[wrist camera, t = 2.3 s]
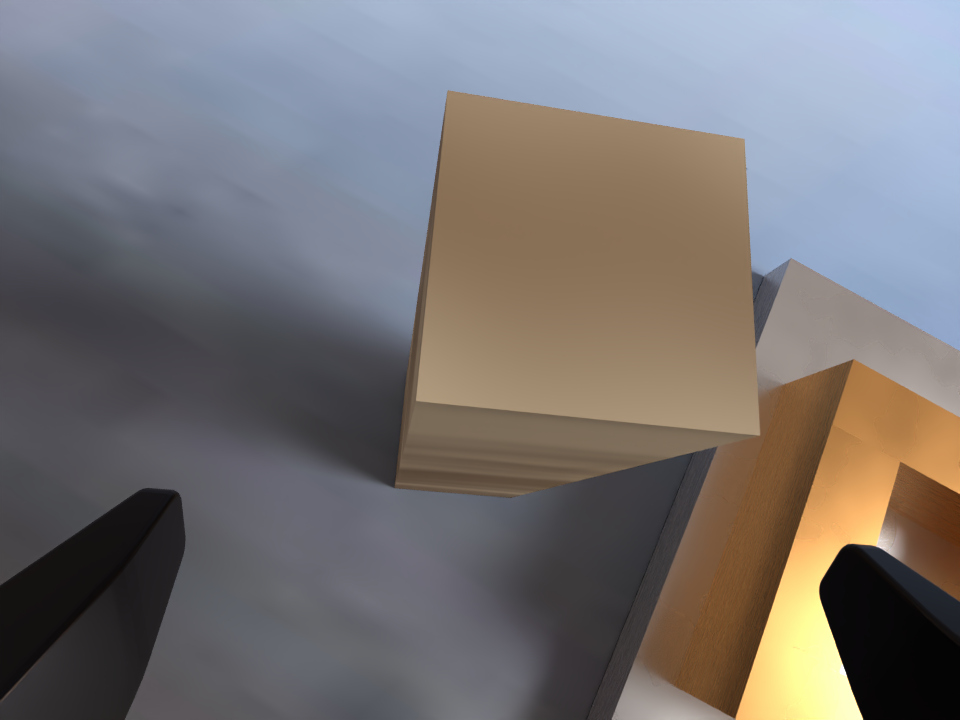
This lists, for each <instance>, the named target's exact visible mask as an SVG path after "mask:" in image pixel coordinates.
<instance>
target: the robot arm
mask: <svg viewBox="0 0 960 720" xmlns="http://www.w3.org/2000/svg"><path fill="white" fill-rule="evenodd" d="M185 540H186V539H185V528H184V519H183V509H182V501H181V497H180V495H179V493H178V492H177V491H175V490H167V489H154V488H145V489H142V490H139V491H138V492H136V493H135V494H133V495H132V496H130V497H129V498H127V499H126V500H124V501H123V502H121V503H120V504H119V505H117V506H116V507H114V508H113V509H111V510H110V511H108V512H107V513H105V514H104V515H103V516H101V517H100V518H98V519H97V520H95V521H94V522H92V523H91V524H89V525H88V526H86V527H85V528H84V529H82V530H81V531H79V532H78V533H76V534H75V535H73V536H72V537H70V538H69V539H67V540H66V541H65V542H63V543H62V544H60V545H59V546H57V547H56V548H54V549H53V550H51V551H50V552H48V553H47V554H46V555H44V556H43V557H41V558H40V559H38V560H37V561H35V562H34V563H32V564H31V565H30V566H28V567H27V568H25V569H24V570H22V571H21V572H19V573H18V574H16V575H15V576H13V577H12V578H11V579H9V580H8V581H6V582H5V583H3V584H2V585H0V720H125V718H126V715H127V713H128V711H129V709H130V707H131V704H132V702H133V700H134V698H135V695H136V693H137V691H138V688H139V686H140V683H141V681H142V679H143V676H144V673H145V670H146V668H147V665H148V662H149V659H150V656H151V653H152V650H153V647H154V644H155V641H156V638H157V635H158V632H159V629H160V625H161V622H162V619H163V616H164V613H165V610H166V607H167V604H168V601H169V598H170V595H171V592H172V589H173V586H174V582H175V579H176V576H177V573H178V570H179V567H180V564H181V561H182V558H183V554H184V550H185ZM819 597H820V601H821V604H822V607H823V610H824V613H825V616H826V619H827V621H828V624H829V627H830V630H831V633H832V636H833V639H834V642H835V644H836V647H837V650H838V653H839V656H840V659H841V662H842V665H843V668H844V670H845V673H846V676H847V679H848V682H849V685H850V688H851V691H852V693H853V696H854V699H855V701H856V704H857V707H858V709H859V711H860V714H861V716H862V719H863V720H960V601H958V600H957V599H956V598H954V597H953V596H951V595H950V594H948V593H947V592H945V591H944V590H942V589H941V588H939V587H938V586H936V585H935V584H933V583H932V582H930V581H929V580H927V579H926V578H924V577H923V576H921V575H920V574H918V573H917V572H915V571H914V570H912V569H911V568H910V567H908V566H907V565H905V564H904V563H902V562H901V561H899V560H898V559H896V558H895V557H893V556H892V555H890V554H889V553H887V552H886V551H884V550H883V549H881V548H879V547H877V546H873V545H864V544H847V545H845V546H843V547H842V548H841V549H840V551H839V552H838V554H837V555H836V557H835V559H834V560H833V562H832V564H831V565H830V567H829V568H828V570H827V572H826V573H825V575H824V576H823V578H822V580H821V582H820V585H819Z"/></svg>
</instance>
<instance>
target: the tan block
mask: <svg viewBox="0 0 960 720" xmlns="http://www.w3.org/2000/svg"><path fill="white" fill-rule="evenodd" d="M757 436H760V423H759V404H758V385H757V366H756V348H755V329H754V310H753V291H752V272H751V254H750V235H749V216H748V197H747V178H746V160H745V141H744V139H741V138H735V137H729V136H723V135H717V134H711V133H705V132H699V131H692V130H686V129H680V128H674V127H668V126H662V125H656V124H650V123H644V122H637V121H631V120H625V119H619V118H613V117H607V116H601V115H595V114H589V113H582V112H576V111H570V110H564V109H558V108H552V107H546V106H540V105H534V104H527V103H521V102H515V101H509V100H503V99H497V98H491V97H485V96H479V95H472V94H466V93H460V92H454V91H448V92H447V99H446V106H445V113H444V119H443V126H442V133H441V140H440V147H439V154H438V161H437V168H436V175H435V182H434V189H433V196H432V203H431V210H430V217H429V223H428V230H427V237H426V244H425V251H424V258H423V265H422V272H421V279H420V286H419V293H418V300H417V307H416V314H415V321H414V328H413V334H412V341H411V348H410V355H409V362H408V369H407V377H406V386H405V395H404V405H403V414H402V423H401V432H400V442H399V451H398V460H397V470H396V479H395V488H399V489H411V490H423V491H435V492H447V493H459V494H472V495H484V496H496V497H508V498H512V497H516V496H520V495H524V494H528V493H532V492H536V491H540V490H544V489H548V488H552V487H556V486H560V485H564V484H568V483H572V482H576V481H580V480H584V479H588V478H592V477H596V476H600V475H604V474H608V473H612V472H616V471H620V470H624V469H628V468H632V467H636V466H640V465H644V464H648V463H652V462H656V461H660V460H664V459H668V458H672V457H676V456H680V455H684V454H688V453H692V452H696V451H701V450H705V449H709V448H713V447H717V446H721V445H725V444H729V443H733V442H737V441H741V440H745V439H749V438H753V437H757Z"/></svg>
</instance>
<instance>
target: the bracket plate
mask: <svg viewBox="0 0 960 720" xmlns="http://www.w3.org/2000/svg"><path fill="white" fill-rule="evenodd" d="M753 310H754V329H755V348H756V366H757V385H758V404H759V423H760V436H757V437H753V438H749V439H745V440H741V441H737V442H733V443H729V444H725V445H721V446H717V447H713V448H709V449H705V450H701V451H696V452H694V453H693V456H692V458H691V461H690V463H689V466H688V468H687V471H686V473H685V476H684V478H683V481H682V483H681V486H680V488H679V491H678V493H677V496H676V498H675V501H674V503H673V506H672V508H671V511H670V513H669V516H668V518H667V521H666V523H665V526H664V528H663V531H662V533H661V536H660V538H659V541H658V543H657V546H656V548H655V551H654V553H653V556H652V558H651V561H650V563H649V566H648V568H647V571H646V573H645V576H644V578H643V581H642V583H641V586H640V588H639V591H638V593H637V595H636V598H635V600H634V603H633V605H632V608H631V610H630V613H629V615H628V618H627V620H626V623H625V625H624V628H623V630H622V633H621V635H620V638H619V640H618V643H617V645H616V648H615V650H614V653H613V655H612V658H611V660H610V663H609V665H608V668H607V670H606V673H605V675H604V678H603V680H602V683H601V685H600V688H599V690H598V693H597V695H596V698H595V700H594V703H593V705H592V708H591V710H590V713H589V715H588V718H587V720H863V719H862V716H861V714H860V711H859V709H858V707H857V704H856V701H855V699H854V696H853V693H852V691H851V688H850V685H849V682H848V679H847V676H846V673H845V670H844V668H843V665H842V662H841V659H840V656H839V653H838V650H837V647H836V644H835V642H834V639H833V636H832V633H831V630H830V627H829V624H828V621H827V619H826V616H825V613H824V610H823V607H822V604H821V601H820V597H819V585H820V582H821V580H822V578H823V576H824V575H825V573H826V572H827V570H828V568H829V567H830V565H831V564H832V562H833V560H834V559H835V557H836V555H837V554H838V552H839V551H840V549H841V548H842V547H843V546H845V545H847V544H864V545H873V546H877V547H879V548H881V549H883V550H884V551H886V552H887V553H889V554H890V555H892V556H893V557H895V558H896V559H898V560H899V561H901V562H902V563H904V564H905V565H907V566H908V567H910V568H911V569H912V570H914V571H915V572H917V573H918V574H920V575H921V576H923V577H924V578H926V579H927V580H929V581H930V582H932V583H933V584H935V585H936V586H938V587H939V588H941V589H942V590H944V591H945V592H947V593H948V594H950V595H951V596H953V597H954V598H956V599H957V600H958V601H960V351H959V350H957V349H955V348H953V347H952V346H950V345H948V344H946V343H944V342H942V341H941V340H939V339H937V338H935V337H933V336H932V335H930V334H928V333H926V332H924V331H922V330H921V329H919V328H917V327H915V326H913V325H912V324H910V323H908V322H906V321H904V320H902V319H901V318H899V317H897V316H895V315H893V314H892V313H890V312H888V311H886V310H884V309H882V308H881V307H879V306H877V305H875V304H873V303H872V302H870V301H868V300H866V299H864V298H862V297H861V296H859V295H857V294H855V293H853V292H852V291H850V290H848V289H846V288H844V287H842V286H841V285H839V284H837V283H835V282H833V281H832V280H830V279H828V278H826V277H824V276H822V275H821V274H819V273H817V272H815V271H813V270H812V269H810V268H808V267H806V266H804V265H803V264H801V263H799V262H797V261H795V260H793V259H792V258H791V259H789V260H788V261H786V262H785V263H783V264H782V265H780V266H779V267H777V268H776V269H774V270H773V271H771V272H770V273H768V274H767V275H765V276H764V279H763V281H762V284H761V286H760V289H759V291H758V294H757V296H756V299H755V301H754V304H753Z"/></svg>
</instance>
